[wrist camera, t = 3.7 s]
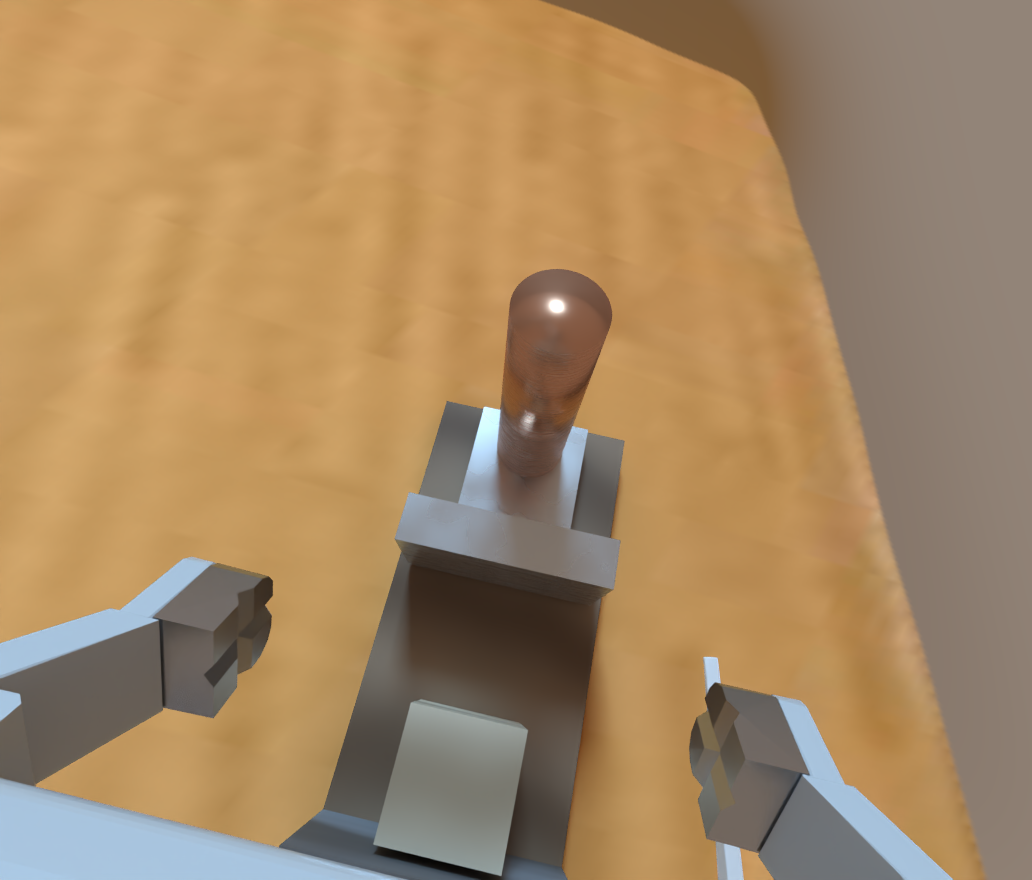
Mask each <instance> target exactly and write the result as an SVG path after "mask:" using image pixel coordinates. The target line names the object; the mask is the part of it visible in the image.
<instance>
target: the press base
mask: <svg viewBox="0 0 1032 880" xmlns="http://www.w3.org/2000/svg"><path fill="white" fill-rule="evenodd" d="M483 410H484V409H480V408H475V407H471V406H466V405H462V404H458V403H453V402H449V401H447V403H446V406H445V410H444V413H443V416H442V420H441V423H440V426H439V429H438V433H437V436H436V439H435V443H434V446H433V449H432V453H431V456H430V459H429V462H428V466H427V469H426V472H425V476H424V479H423V482H422V485H421V489H420V492H419V495H423V496H428V497H432V498H437V499H441V500H445V501H450V502H454V503H458V502H459V498H460V495H461V491H462V487H463V484H464V480H465V476H466V472H467V469H468V465H469V461H470V458H471V454H472V450H473V447H474V443H475V439H476V435H477V432H478V428H479V424H480V421H481V417H482V413H483ZM623 447H624V441H623V440H618V439H614V438H609V437H605V436H600V435H596V434H591V433H587V439H586V444H585V450H584V455H583V461H582V467H581V472H580V478H579V483H578V489H577V495H576V500H575V506H574V511H573V517H572V523H571V528H570V529H572V530H577V531H581V532H585V533H590V534H594V535H598V536H603V537H607V538H610V535H611V529H612V522H613V515H614V508H615V501H616V495H617V488H618V481H619V474H620V467H621V461H622V454H623ZM600 603H601V598H600V599H599V600H597V601H596V602H594V603H593V604H591V605H590V606H589V605H584V604H580V603H576V602H571V601H567V600H563V599H558V598H554V597H550V596H545V595H541V594H537V593H532V592H528V591H524V590H520V589H515V588H511V587H507V586H502V585H498V584H494V583H489V582H485V581H481V580H476V579H472V578H468V577H463V576H459V575H455V574H451V573H446V572H442V571H438V570H433V569H429V568H425V567H420V566H416V565H412V564H408V562H407V560H406V558H405V557H404V555H403V553H402V551H401V555H400V558H399V561H398V565H397V568H396V571H395V575H394V578H393V581H392V584H391V588H390V591H389V594H388V598H387V601H386V604H385V607H384V611H383V614H382V617H381V621H380V624H379V627H378V631H377V634H376V637H375V640H374V644H373V647H372V650H371V654H370V657H369V660H368V664H367V667H366V670H365V673H364V677H363V680H362V683H361V687H360V690H359V693H358V697H357V700H356V703H355V706H354V710H353V713H352V716H351V720H350V723H349V726H348V729H347V733H346V736H345V739H344V743H343V746H342V749H341V753H340V756H339V759H338V762H337V766H336V769H335V772H334V776H333V779H332V782H331V786H330V789H329V792H328V795H327V799H326V802H325V805H324V809H323V810H322V811H321V812H319V813H318V814H317V815H316V816H314V817H313V818H312V819H311V820H310V821H308V822H307V823H306V824H305V825H304V826H302V827H301V828H300V829H299V830H298V831H296V832H295V833H294V834H293V835H291V836H290V837H289V838H288V839H287V840H285V841H284V842H283V843H282V844H281V845H280V846H279V848H283V849H287V850H291V851H295V852H299V853H303V854H307V855H311V856H315V857H319V858H323V859H327V860H331V861H335V862H339V863H343V864H347V865H351V866H355V867H359V868H363V869H367V870H371V871H375V872H378V873H382V874H386V875H390V876H394V877H398V878H402V879H406V880H567V878H566V876H565V873H564V871H563V869H562V862H563V855H564V848H565V841H566V835H567V828H568V821H569V814H570V807H571V801H572V794H573V787H574V780H575V773H576V767H577V760H578V753H579V746H580V739H581V733H582V726H583V719H584V712H585V705H586V699H587V692H588V685H589V678H590V671H591V665H592V658H593V651H594V644H595V637H596V631H597V624H598V617H599V610H600ZM421 699H422V700H427V701H431V702H435V703H439V704H443V705H448V706H452V707H456V708H460V709H464V710H469V711H473V712H477V713H481V714H485V715H490V716H494V717H498V718H502V719H506V720H511V721H515V722H519V723H520V724H521V725H523V726H524V727H525V728H526V729H527V730H528V733H527V739H526V744H525V749H524V755H523V760H522V766H521V771H520V777H519V782H518V788H517V793H516V799H515V804H514V810H513V815H512V820H511V826H510V831H509V837H508V842H507V848H506V853H505V859H504V864H503V870H502V875H501V876H499V875H495V874H491V873H487V872H483V871H479V870H475V869H471V868H467V867H463V866H459V865H455V864H450V863H446V862H442V861H438V860H434V859H430V858H426V857H422V856H418V855H414V854H410V853H406V852H401V851H397V850H393V849H389V848H385V847H381V846H377V845H373V843H374V840H375V836H376V832H377V828H378V825H379V821H380V817H381V813H382V810H383V806H384V802H385V798H386V794H387V791H388V787H389V783H390V779H391V776H392V772H393V768H394V764H395V761H396V757H397V753H398V749H399V746H400V742H401V738H402V734H403V731H404V727H405V723H406V719H407V715H408V712H409V708H410V704H411V702H414V701H417V700H421Z"/></svg>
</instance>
